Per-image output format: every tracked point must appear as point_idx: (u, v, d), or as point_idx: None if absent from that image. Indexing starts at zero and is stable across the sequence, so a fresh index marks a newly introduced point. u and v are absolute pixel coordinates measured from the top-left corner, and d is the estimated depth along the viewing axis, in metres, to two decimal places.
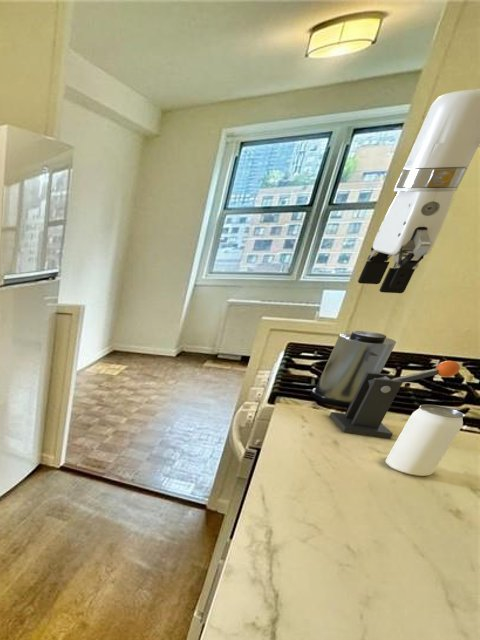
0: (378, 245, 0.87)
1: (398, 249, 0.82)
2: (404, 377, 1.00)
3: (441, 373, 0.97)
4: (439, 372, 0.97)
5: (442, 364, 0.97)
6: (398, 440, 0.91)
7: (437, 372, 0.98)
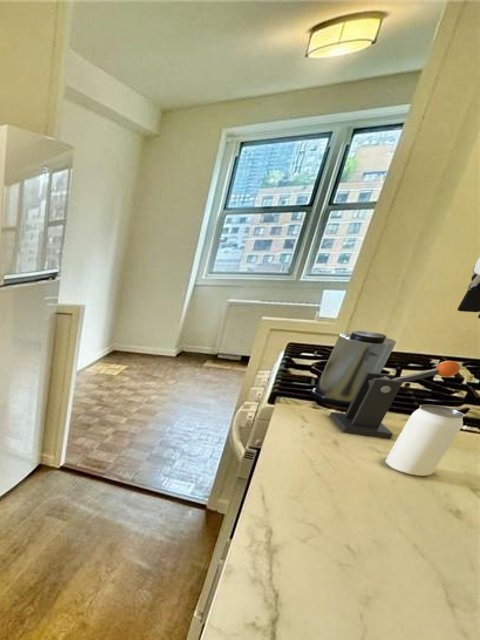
0: None
1: None
2: (404, 377, 1.00)
3: (441, 373, 0.97)
4: (439, 372, 0.97)
5: (442, 364, 0.97)
6: (398, 440, 0.91)
7: (437, 372, 0.98)
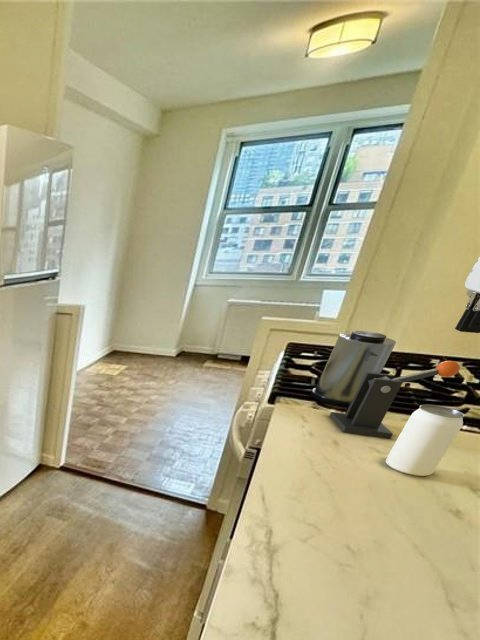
0: (472, 285, 0.92)
1: None
2: (404, 377, 1.00)
3: (441, 373, 0.97)
4: (439, 372, 0.97)
5: (442, 364, 0.97)
6: (398, 440, 0.91)
7: (437, 372, 0.98)
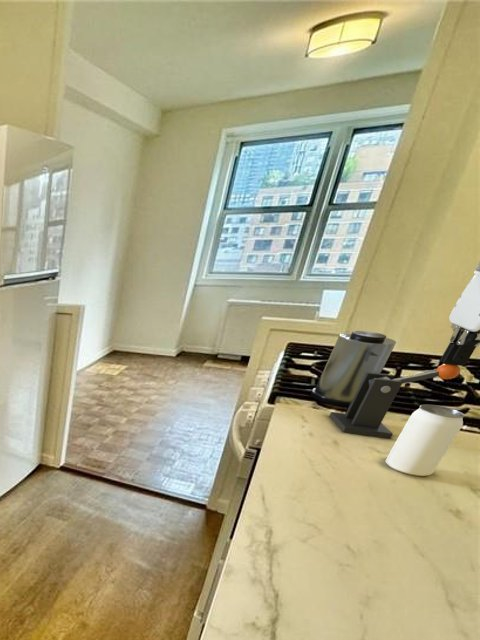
0: (456, 319, 0.95)
1: (479, 327, 0.89)
2: (404, 378, 1.00)
3: (441, 375, 0.97)
4: (439, 374, 0.98)
5: (443, 366, 0.97)
6: (398, 440, 0.91)
7: (437, 374, 0.98)
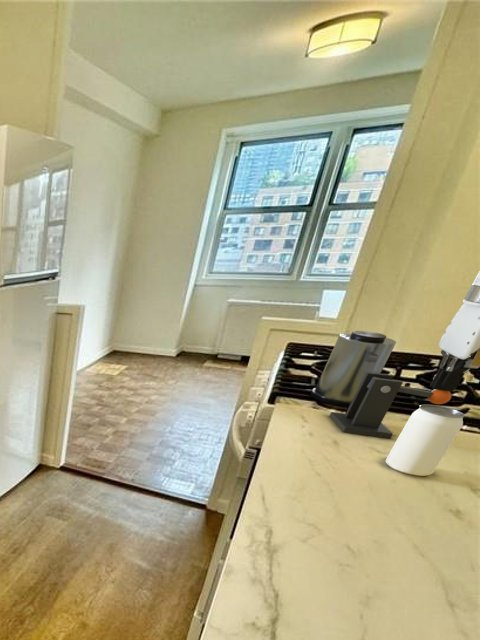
0: (445, 346, 0.97)
1: (467, 355, 0.92)
2: (403, 387, 1.01)
3: (433, 397, 0.99)
4: (432, 396, 0.99)
5: (440, 390, 0.99)
6: (398, 440, 0.91)
7: (430, 395, 1.00)
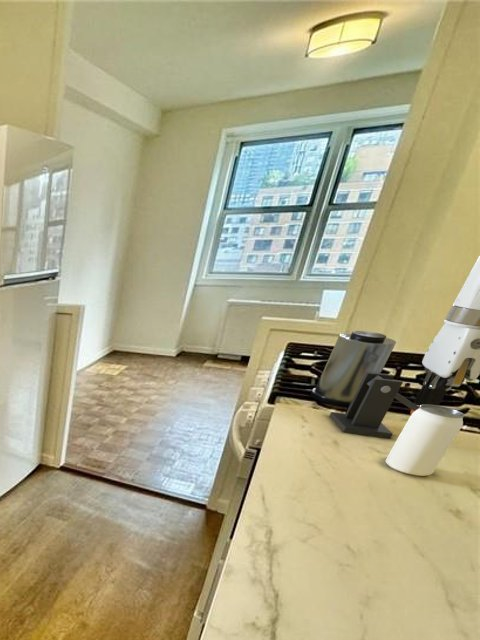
0: (428, 364, 0.99)
1: (448, 374, 0.94)
2: None
3: None
4: None
5: None
6: (398, 440, 0.91)
7: (416, 408, 1.02)
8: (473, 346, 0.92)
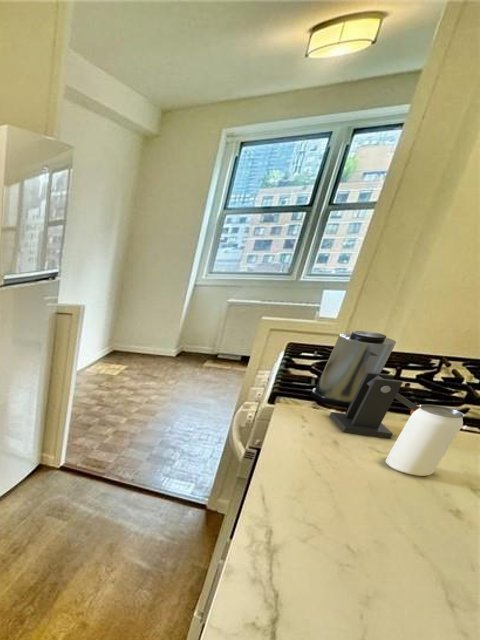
0: None
1: None
2: None
3: None
4: None
5: None
6: (398, 440, 0.91)
7: (416, 408, 1.02)
8: None
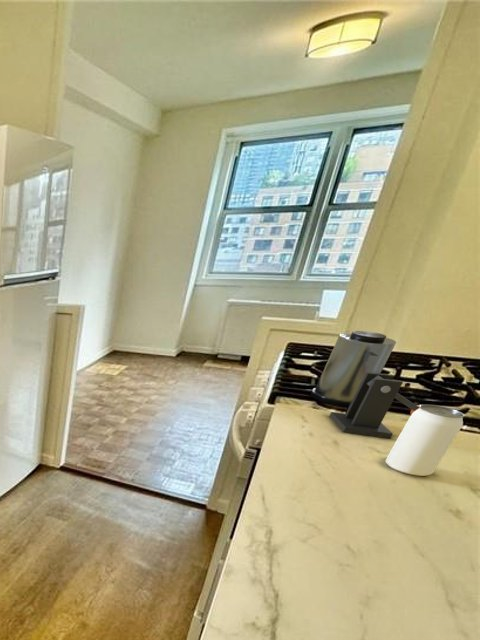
0: None
1: None
2: None
3: None
4: None
5: None
6: (398, 440, 0.91)
7: (416, 408, 1.02)
8: None
